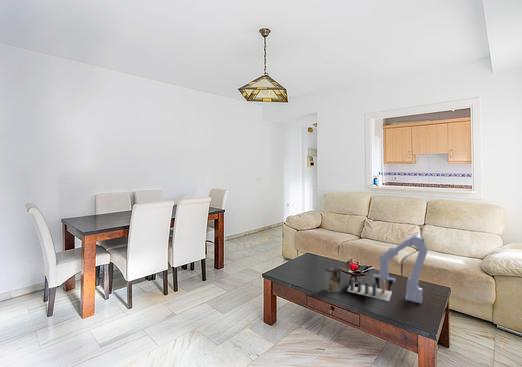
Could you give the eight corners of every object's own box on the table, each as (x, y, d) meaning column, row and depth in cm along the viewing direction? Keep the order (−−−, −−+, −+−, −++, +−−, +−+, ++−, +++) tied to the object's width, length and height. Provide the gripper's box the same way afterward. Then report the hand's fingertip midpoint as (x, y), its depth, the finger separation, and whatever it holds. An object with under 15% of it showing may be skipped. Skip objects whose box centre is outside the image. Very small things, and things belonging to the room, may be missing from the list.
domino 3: (368, 291, 196) (369, 280, 196) (367, 294, 192) (367, 283, 191) (366, 290, 197) (366, 280, 197) (365, 293, 193) (365, 282, 192)
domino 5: (385, 291, 197) (385, 280, 196) (384, 293, 192) (384, 282, 192) (383, 290, 198) (383, 279, 197) (381, 293, 193) (382, 282, 193)
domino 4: (376, 293, 193) (376, 282, 193) (374, 296, 189) (375, 284, 189) (373, 292, 194) (374, 281, 194) (372, 295, 190) (372, 284, 190)
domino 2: (361, 289, 199) (361, 279, 198) (360, 292, 195) (360, 281, 194) (359, 289, 200) (359, 278, 199) (357, 292, 196) (357, 281, 195)
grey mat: (392, 292, 196) (392, 291, 196) (388, 301, 182) (388, 301, 182) (352, 283, 211) (352, 282, 211) (346, 291, 197) (346, 290, 197)
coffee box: (335, 288, 203) (336, 267, 202) (340, 291, 197) (340, 270, 196) (324, 289, 201) (324, 268, 200) (329, 293, 195) (329, 271, 194)
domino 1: (354, 288, 202) (354, 277, 201) (352, 290, 197) (352, 280, 197) (352, 287, 202) (352, 277, 202) (350, 290, 198) (350, 279, 198)
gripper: (396, 271, 193) (395, 289, 194) (374, 267, 201) (374, 284, 202) (394, 274, 187) (394, 293, 188) (372, 270, 195) (372, 288, 196)
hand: (383, 289), depth 195 cm, fingers open, 6 cm apart
